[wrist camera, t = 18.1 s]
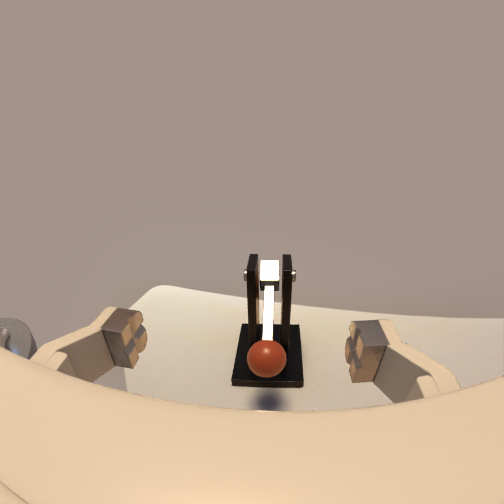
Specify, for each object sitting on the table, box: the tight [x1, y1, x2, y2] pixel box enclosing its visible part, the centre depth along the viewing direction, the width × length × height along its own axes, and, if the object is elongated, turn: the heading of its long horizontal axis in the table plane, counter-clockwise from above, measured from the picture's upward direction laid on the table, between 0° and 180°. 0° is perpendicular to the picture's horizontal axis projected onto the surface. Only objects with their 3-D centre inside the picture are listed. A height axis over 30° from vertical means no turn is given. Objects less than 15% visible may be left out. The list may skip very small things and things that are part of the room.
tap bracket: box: [231, 254, 304, 387], centre depth 35 cm, size 12×9×15 cm
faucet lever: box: [247, 260, 286, 378], centre depth 30 cm, size 13×4×4 cm, turn 175°
